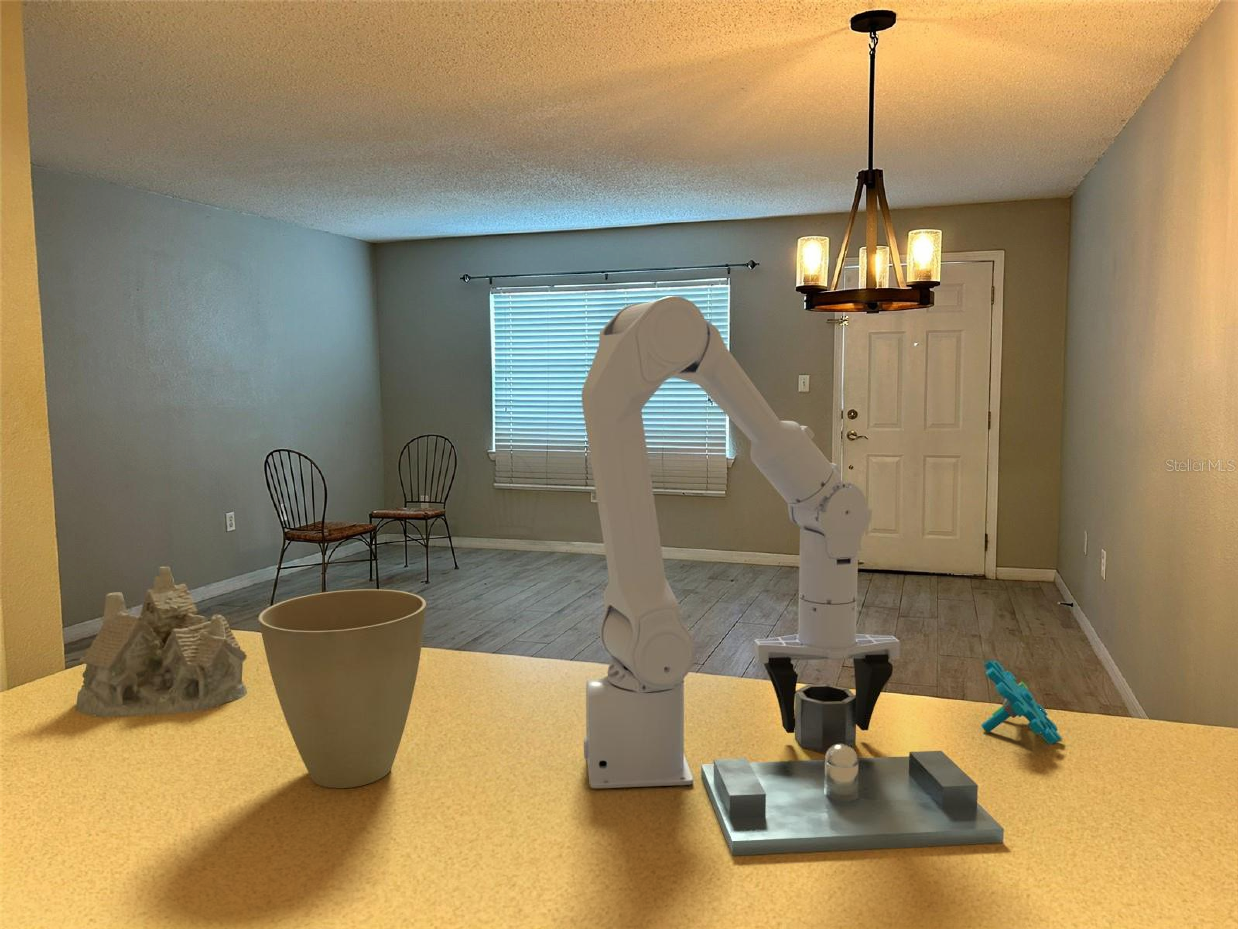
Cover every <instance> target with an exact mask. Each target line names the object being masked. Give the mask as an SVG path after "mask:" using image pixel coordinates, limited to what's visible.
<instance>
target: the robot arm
mask: <svg viewBox="0 0 1238 929" xmlns="http://www.w3.org/2000/svg"><path fill="white" fill-rule="evenodd" d="M598 339H599V340H598V347H597V350H596V352H595V355H594V357H593V359H592V363H591V366H590V368H589V371H588V373H587V377H586V379H585V382H584V384H583V387H582V390H581V405H582V411H583V418H584V423H585V424H584V425H585V431H586V438H587V444H588V450H589V455H590V456H589V457H590V462H591V469H592V476H593V481H594V490H595V495H596V500H597V502H596V503H597V508H598V514H599V515H598V516H599V521H600V527H601V528H600V529H601V534H602V539H603V540H602V541H603V547H604V552H605V554H604V555H605V560H606V566H607V573H608V580H609V581H608V584H607V585H606V587H605V589H604V591H603V594H602V595H603V596H602V597H603V602H604V610H603V615H602V618H601V619H602V620H601V622H600V626H599V638H600V642H601V645H602V647H603V649H604V650H605V651H606V653H607V654H608V655H609V656H610V662H609V665H608V668H607V672H606V673H607V676H604V677H602V678H595V679H589V680H586V684H585V687H586V688H585V689H586V691H585V701H586V702H585V706H586V707H585V710H586V712H585V713H586V714H585V717H586V718H585V721H586V722H585V723H586V725H585V726H586V727H585V728H586V730H585V731H586V732H585V733H586V735H585V736H586V738H584V739H583V758H584V759H586V764H587V773H588V774H587V775H588V782H589V787H590V788H592V789H614V788H615V789H617V788H639V787H641V788H642V787H643V788H644V787H664V786H669V787H670V786H687V785H692V784H694V776H693V774H692V771H691V769H690V766H689V763H688V761H687V758H686V755H685V753H684V752H685V750H684V749H685V748H684V746H685V743H684V740H685V738H684V737H685V736H684V735H685V728H684V727H685V724H684V723H685V678H686V677H687V675H688V674H689V673H690V671H691V669H692V667H693V664H694V662H695V658H696V644H695V640H694V637H693V636H692V634H691V632H690V630H688V628H687V627H686V626H685V624H684V621H683V619H682V615H681V610H680V604H679V603H678V601H677V600H678V599H677V598H676V596H675V594H674V592H673V590H672V588H671V586H670V584H669V582H668V579H667V577H666V571H665V565H664V564H665V563H664V557H663V551H662V545H661V536H660V530H659V523H658V516H657V509H656V508H657V507H656V502H655V497H654V496H655V495H654V488H653V482H652V476H651V475H652V474H651V468H650V463H649V462H650V460H649V455H648V447H647V441H646V435H645V428H644V427H645V426H644V421H643V415H642V414H643V413H642V410H643V408H644V407H645V406H646V405H647V403H648V402H649V401H650V399H651V398H652V397H653V396H654V395H655V393H656V392H657V391H658V390H659V388H660V387H661V386H662V385H663V384H664V383H665V382H666V381H668V380H670V379H671V378H676V379H678V380H682V381H686V382H690V383H694V384H696V385H698V386H699V387H700V388H701V389H702V390H703V391H704V392H705V393H706V394H707V396H708V397H710V399H711V400H713V402H714V403H715V404H716V405H717V406H718V408H720V409H721V411H722V412H724V414H726V415H727V417H728V418H729V420H731V421H732V423H734V424H735V425H736V427H738V429H739V430H740V431H742V433H743V434H744V435H745V436H746V437H747V438H748V439H749V441H750V442H751V444H750V460H751V462H752V463H753V464H754V466H756V468H757V469H758V470H759V472H760V473H762V475H763V476H764V477H765V478H766V480H767V481H768V482H769V483H770V484H771V485H772V487H773V488H774V489H775V490H776V491H777V492H778V494H779V495H780V496H781V497H782V498H783V500H785V502H786V503H787V513H788V516H789V520H790V521H791V522H792V523H793V524H796V525H797V526H798V527H799V565H798V566H799V568H798V569H799V570H798V572H799V575H798V576H799V578H798V581H799V582H798V622H797V623H798V629H797V630H798V632H797V634H791V635H784V636H783V635H782V636H778V637H777V636H776V637H769V638H761V639H760V638H759V639H757V638H756V639H753V642H754V643H753V645H754V646H753V658H754V660H755V661H756V662H757V663H758V664H763V665H764V667H765V670H766V672H767V675H768V676H769V678H770V682H771V683H772V684H771V685H772V687H773V689H774V690H773V691H774V693H775V695H776V698H777V703H778V706H779V711H780V716H781V724H782V727H783V729H784V730H785V731H786V733H787V734H795V692H796V690H797V682H798V677H799V674H798V673H797V672H796V671H795V669H794V664H793V663H792V661H810V660H811V661H813V660H814V661H815V660H816V661H817V660H818V661H819V660H848V659H849V660H850V659H851V660H852V661H853V671H854V683H855V694H854V695H855V696H856V697H857V704H856V727H858V728H859V729H860V730H861V731H869V727H870V724H871V720H872V716H873V714H874V710H875V708H876V704H877V701H878V699H879V697H880V695H881V693H882V691H883V689H884V687H885V686H886V685H887V682H888V681H889V680H890V678H891V677H892V675H893V668H894V665H893V664H892V663H891V662H890V661H889V660H891V661H892V660H894V661H895V660H900V655H901V654H900V653H901V652H900V651H901V642H900V640H899V639H897V638H896V637H895V636H894V635H877V634H861V633H859V634H858V633H857V611H858V577H859V576H858V572H859V570H858V568H859V563H858V562H859V552H860V551H861V548H862V547H861V546H862V543H861V542H862V538H863V535H864V533H865V532H866V531H867V529H868V528H869V526H870V524H871V520H872V518H873V509H870V508H869V506H868V502H867V498H866V496H865V493H864V492H863V490H862V489H860V488H859V487H858V486H857V485H855V484H854V483H850V482H846V481H842V477H841V475H840V473H841V471H842V470H841V468H840V467H839V466H838V464H836V463H833V462H830V460H828V459H827V457H826V456H825V454H823V453H822V451H821V450H820V449H819V448H818V445H816V443H815V442H814V441H813V438H814V437H815V433H814V432H813V430H812V429H811V428H810V427H809V426H807V425H806V426H805V425H800V424H799V422H797V421H794V420H780V419H779V418H778V416H777V415H776V414H775V412H774V411H773V409H772V408H771V407H770V405H769V404H768V403H767V401H766V399H764V397H763V396H762V394H761V392H760V391H759V390H758V389H757V387H756V386H755V385H754V383H753V382H752V380H751V379H750V378H749V376H748V375H747V374H746V372H745V371H744V370H743V368H742V367H741V365H740V364H739V363H738V361H737V359H736V358H735V357H734V355H732V352H730V350H729V348H728V347H727V346H726V344H725V341H724V339H723V337H722V335H721V333H720V330H719V329H718V328H717V327H716V326H715V325H714V324H713V323H712V322H711V321H709V320H706V318H705V315H703V313H702V311H701V310H700V308H699V307H698V306H697V305H696V304H695V303H694V302H692V301H690V300H689V299H687V298H685V297H681V296H675V295H672V296H671V295H669V296H665V297H662V298H659V299H657V300H654V301H649V302H644V303H632V304H629V305H627V306H624V307H622V308H621V309H620V310H619V311H618V312H617V313H616V314H615V315H613V317H612V318H611V319H610V320H609V321H608V322H607V323H606V325H605V326H603V328H602V329H600V331H599V338H598Z"/></svg>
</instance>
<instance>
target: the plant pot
mask: <svg viewBox="0 0 1238 929" xmlns="http://www.w3.org/2000/svg"><path fill="white" fill-rule="evenodd" d="M426 607H427V602H426V600H425V599H424V598H423V597H422V596H420V595H418V594H414V593H411V592H407V591H403V590H394V589H373V588H372V589H370V588H369V589H367V588H364V589H363V588H362V589H361V588H360V589H347V590H335V591H327V592H319V593H313V594H308V595H303V596H298V597H294V598H290V599H287V600H284V601H280V602H278V603H276V604H273V605H271V606H269V607H267V608H266V609H264V610H262V612H261V613H259V615H258V623H259V628H260V629H259V630H260V633H261V637H262V642H263V646H264V652H265V656H266V661H267V664H268V668H269V672H270V675H271V679H272V683H273V686H274V690H275V694H276V695H277V698H278V701H279V706H280V707H281V711H282V713H283V716H284V720H285V722H286V724H287V727H288V730H289V732H290V734H291V736H292V739H293V742H294V743H295V744H294V745H295V746H296V749H297V751H298V753H299V755H300V757H301V759H302V762H303V764H304V766H305V769H306V770H307V772H308V774H309V776H310V778H311V780H312V781H313V782H314V783H315V784H316V785H318V786H321V787H325V788H329V789H349V788H356V787H362V786H365V785H369V784H372V783H374V782H376V781H378V780H380V779H382V778H384V777H385V776H387V775H388V773H390V771H392V768H393V765H394V762H395V760H396V756H397V753H398V750H399V748H400V744H401V740H402V739H403V738H402V737H403V734H404V731H405V727H406V723H407V720H408V716H409V713H410V709H411V703H412V701H413V699H412V698H413V695H414V690H415V686H416V681H417V676H418V672H419V671H418V670H419V666H420V660H421V652H422V651H421V650H422V645H423V636H424V628H425V618H426V617H425V616H426V609H427V608H426Z"/></svg>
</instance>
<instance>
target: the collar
mask: <svg viewBox="0 0 1238 929" xmlns="http://www.w3.org/2000/svg"><path fill="white" fill-rule="evenodd" d="M856 704H857V697H856V696H855V694H854V693H853V692H852V691H851V690H850V689H849V688H845V687H841V686H838V685H835V684H834V685H833V684H828V683H825V684H824V683H822V684H806V685H804V686H802V687H800V688H798V689H796V692H795V705H794V706H795V730H794V739H795V740H796V742H797V743H798V745H799V746H800V747H801V748H803V747H804V749H807V750H810V749H812V750H811V751H813V750H814V752H818V753H820V752H821V753H820V754H826V753H827V751H828V749H829V748H830V747H832V746H833V745H836V744H846V745H848V746H850V747H852V746H853V747H854V746H856V740H857V739H856V737H857V736H856V735H857V724H856ZM853 747H852V748H853Z"/></svg>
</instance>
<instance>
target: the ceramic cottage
mask: <svg viewBox="0 0 1238 929" xmlns="http://www.w3.org/2000/svg"><path fill="white" fill-rule="evenodd" d="M158 570H159V572H158V573H159V575H156V576H155V577H154V580H153V588H150V589H149V588H148V589H146V594H145V597H144V599H143V602H142V606H141V611H140V614H139V615H134V614H128V613H127V608H126V603H125V599H124V595H123V593H122V592H119V591H118V592H111V593H107V594H106V595H105V604H104V610H103V617H102V625H101V629H100V630H99V632H98V633H97V635H96V637H95V639H94V640H92V642H91V645H90V646H89V648H88V649H87V650H86V651H85V655H83V656H82V657H80V659H79V661H80V662H81V663H83V664H85V670H84V672H83V673H82V675H81V677H83V681H82V683H83V684H82V685H81V687H80V690H79V691H78V692H77V698H76V705H75V711H78V712H79V713H82V714H84V715H88V716H91V717H92V716H93V717H95V716H96V717H102V718H113V717H114V718H117V717H128V716H130V717H133V716H135V717H137V716H147V715H148V716H151V715H157V714H158V715H162V714H163V715H165V714H183V713H194V712H195V713H196V712H202V711H206V710H211V709H213V708H217V707H220V706H221V705H222V706H223V704H226V703H229V702H234V701H236V700H240V699H242V698H244V697H245V696H246V695H247V694H248V689H247V686H246V685H245V684H244V682H243V668H244V667H243V666H244V665H243V663H244V662H245V661H246V660H247V657H248V656H247V654H246V651H244V650H243V649H241V646H240V645H239V642H238V641H237V639H236V637H235V636H234V634H233V631H232V630H231V628H230V624H228V621H227V619H226V618H225V616H222V614H214V615H212V616H211V617H210V621H208V619H207V617H206V616H202V615H198V614H197V613H198V609H197V607H196V605H195V602H194V599H193V597H192V595H191V593H190V591H189V590H188V586H187V584H186V583H181V584H177V585H176V584H175V580H174V577H173V575H172V571H171V568H170V566H159V567H158Z"/></svg>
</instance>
